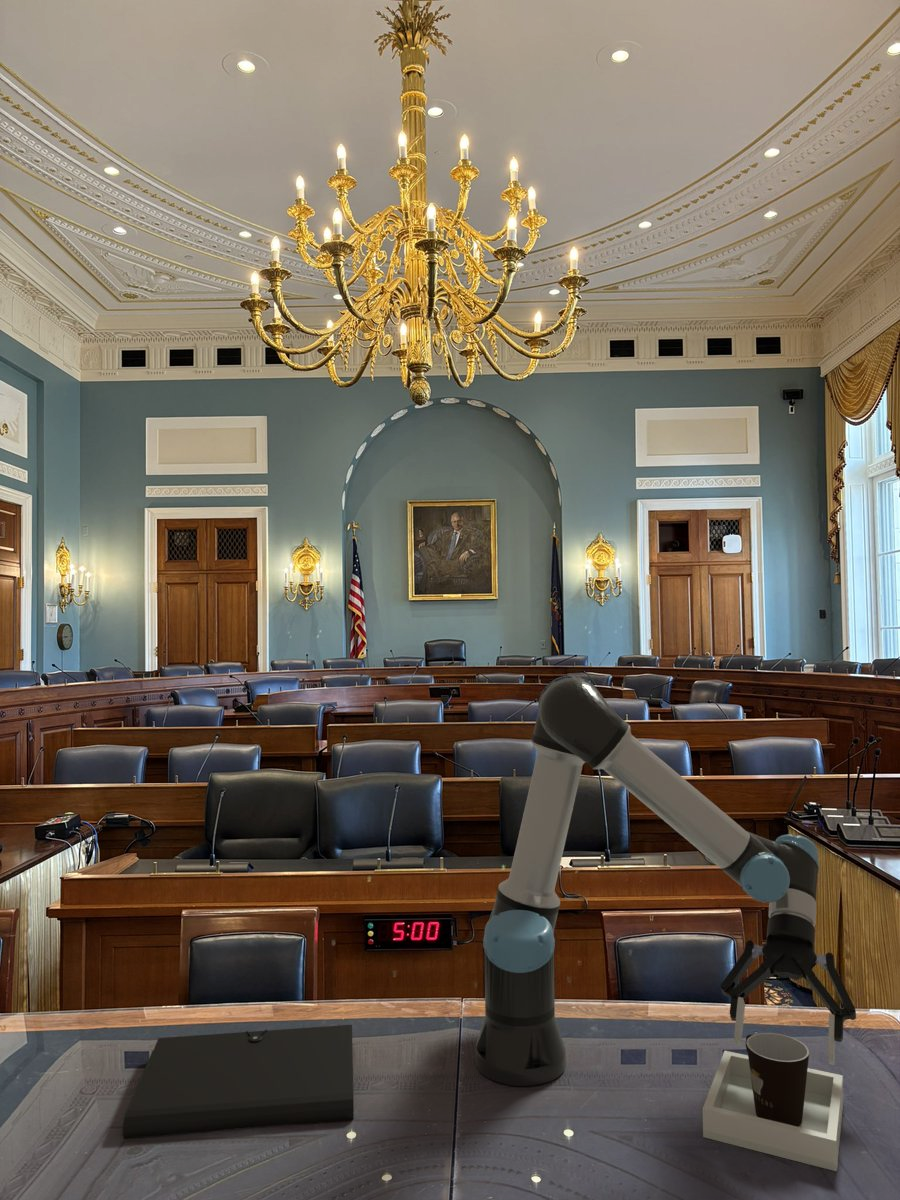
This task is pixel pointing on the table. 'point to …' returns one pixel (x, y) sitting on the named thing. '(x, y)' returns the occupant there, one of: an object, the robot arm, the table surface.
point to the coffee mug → (778, 1076)
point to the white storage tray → (739, 1125)
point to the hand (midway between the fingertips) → (783, 1051)
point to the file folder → (244, 1081)
